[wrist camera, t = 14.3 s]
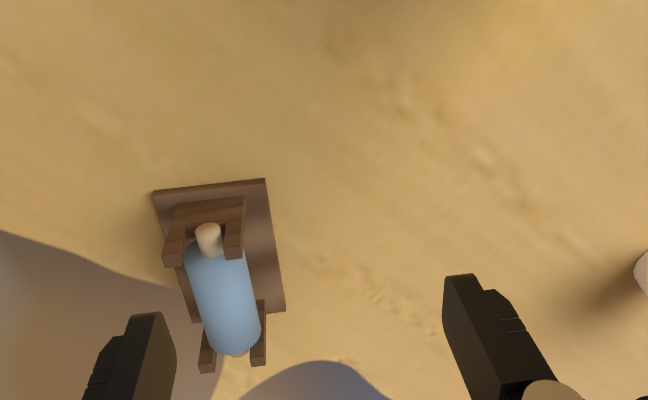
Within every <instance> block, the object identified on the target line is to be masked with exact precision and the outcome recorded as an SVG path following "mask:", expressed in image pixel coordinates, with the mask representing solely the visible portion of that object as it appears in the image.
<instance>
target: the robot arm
mask: <svg viewBox="0 0 648 400" xmlns="http://www.w3.org/2000/svg"><path fill="white" fill-rule="evenodd" d="M442 323H443V328H444V332H445V335H446V338H447V341H448V343H449V345H450V348H451V350H452V353H453V355H454V358H455V360H456V363H457V365H458V367H459V370H460V372H461V375H462V377H463V380H464V382H465V384H466V387H467V389H468V392H469V394H470V397H471V399H472V400H584V399H583V398H582V397H581V396H580V395H579V394H578V393H577V392H576V391H575V390H573V389H572V388H570V387H569V386H567V385H565V384H563V383H560V382H559V381H558V380H557V378H556V377H555V375H554V374H553V372H552V370H551V369H550V367H549V365H548V364H547V362H546V360H545V359H544V357H543V356H542V354H541V352H540V351H539V349H538V347H537V346H536V344H535V342H534V341H533V339H532V337H531V336H530V334H529V332H527V331H526V327H525V326H524V324H523V323H522V321H521V319H519V316H518V314H517V313H516V311H515V309H514V308H513V306H512V304H511V303H510V301H509V300H507V299H506V298H505V297H504V296H502V295H501V294H500V293H499V292H497V291H496V290H495V289H491V290H484V291H483V289H482V287H481V285H480V283H479V282H478V280H477V278H476V276H475V275H474V274H473V273H469V274H461V275H453V276H446V278H445V282H444V294H443V306H442ZM176 365H177V358H176V350H175V347H174V344H173V341H172V338H171V335H170V333H169V330H168V327H167V325H166V322H165V319H164V316H163V314H162V313H161V312H151V313H143V314H136V315H132V316H131V317H130V319H129V321H128V324H127V327H126V331H125V333H124V335H123V336H115V337H112V339H111V340H110V341H109V342H108V344H107V345H106V346H105V347H104V348H103V349H102V351H101V352H100V353H99V356H98V358H97V361H96V364H95V367H94V369H93V374H91V377H90V379H89V382H88V388H87V389H86V390H85V393H84V395H83V398H82V400H170V398H171V393H172V388H173V383H174V378H175V373H176ZM636 400H648V396H644V397H640V398H638V399H636Z"/></svg>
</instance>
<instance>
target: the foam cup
mask: <svg viewBox="0 0 648 400" xmlns="http://www.w3.org/2000/svg"><path fill="white" fill-rule="evenodd" d="M633 272H634V277H635V279H636V280H637V282H638V284H639V285H640V287H641V288H642V290H643V291H644V292H645V294H646V295H647V297H648V251H647V252H646V253H645V254H644V255H643V256H642V257H641V258H640V259H639V260H638V261H637V263H636V265H635V268H634V270H633Z"/></svg>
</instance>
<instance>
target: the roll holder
mask: <svg viewBox="0 0 648 400" xmlns="http://www.w3.org/2000/svg"><path fill="white" fill-rule="evenodd" d="M152 199H153V202H154V205H155V208H156V211H157V215H158V218H159V221H160V224H161V227H162V230H163V233H164V236H165V239H166V241H165V245H164V248H163V251H162V254H161V257H162V260H163V263H164V266H165V268H169V267H175V271H176V274H177V277H178V280H179V283H180V286H181V289H182V292H183V295H184V298H185V302H186V305H187V307H188V311H189V314H190V317H191V320H192V323H199V322H202V320H201V316H200V313H199V310H198V307H197V304H196V301H195V297H194V294H193V291H192V288H191V285H190V281H189V278H188V275H187V272H186V269H185V265H184V262H183V259H184V255H185V251H186V248H187V247H188V246H189V245H190V244H191V243H192V242H194V241H195V240H197V238H196V235H195V230H196V228H197V227H199V226H200V225H202V224H205V223H210V222H212V223H217V224H218V225H219V226H220V230H221V234H222V235H225V236H224V243H223V252H224V256H225V260H226V261H227V260H235V259H242V256H243V247H244V252H245V257H246V261H247V266H248V270H249V275H250V279H251V284H252V288H253V293H254V297H255V302H256V307H257V311H258V316H259V320H260V325H261V335H260V337H259V339H258V341H257V342H256V343H255V344H254V345H253V346H252V347H251V348H250V363H251V367H257V366H265V365H266V314H270V313H277V312H285V311H286V304H285V298H284V292H283V286H282V280H281V274H280V268H279V262H278V256H277V250H276V243H275V237H274V231H273V225H272V219H271V213H270V207H269V201H268V195H267V189H266V183H265V178H261V179H252V180H243V181H235V182H226V183H217V184H208V185H200V186H191V187H182V188H174V189H165V190H156V191H154V192H153V195H152ZM216 357H217V352H215V351H214V350H213V349H212V348H211V347H210V345H209V342H208V339H207V336H206V332H205V329H203V335H202V342H201V348H200V355H199V362H198V367H199V370H200V373H201V374H203V373H211V372H215V366H216Z"/></svg>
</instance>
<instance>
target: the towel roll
mask: <svg viewBox="0 0 648 400" xmlns="http://www.w3.org/2000/svg"><path fill="white" fill-rule="evenodd" d="M195 235H196V238H197V240H195V241H194V242H192V243H191V244H190V245H189V246H188V247H187V248H186V251H185V255H184V259H183V262H184V265H185V269H186V272H187V275H188V278H189V281H190V285H191V288H192V291H193V294H194V297H195V301H196V304H197V307H198V310H199V313H200V316H201V320H202V323H203V326H204V329H205V332H206V336H207V339H208V342H209V345H210V347H211V348H212V349H213V350H214V351H215V352H217V353H219V354H223V355H231V356H232V357H236V358H238V357H242V356H244V355H245V354H246V353H247V352H248V351H249V348H251V347H252V346H253V345H254V344H255V343H256V342H257V341H258V339H259V337H260V335H261V325H260V320H259V316H258V311H257V307H256V302H255V297H254V293H253V288H252V284H251V279H250V275H249V270H248V266H247V261H246V257H245V252H244V247H243V256H242V259H235V260H227V261H226V260H225V256H224V252H223V243H224V236H225V235H222V234H221V230H220V226H219V225H218V224H217V223H212V222H210V223H205V224H202V225H200V226H199V227H197V228H196V230H195Z"/></svg>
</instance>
